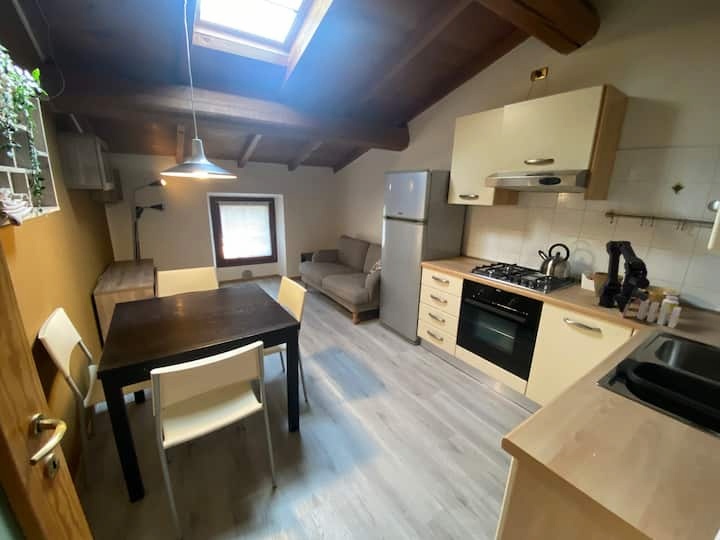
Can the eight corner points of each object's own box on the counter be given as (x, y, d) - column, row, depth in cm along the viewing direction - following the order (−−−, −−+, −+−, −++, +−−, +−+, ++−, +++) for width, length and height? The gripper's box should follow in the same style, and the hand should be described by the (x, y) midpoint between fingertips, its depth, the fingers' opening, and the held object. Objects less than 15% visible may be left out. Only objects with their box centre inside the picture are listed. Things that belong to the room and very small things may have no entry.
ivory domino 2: (646, 320, 154) (651, 303, 152) (649, 319, 157) (654, 301, 154) (651, 322, 152) (656, 304, 150) (654, 320, 155) (659, 302, 153)
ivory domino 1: (636, 318, 157) (641, 300, 155) (639, 316, 160) (644, 299, 158) (641, 319, 156) (646, 301, 153) (644, 317, 158) (649, 300, 156)
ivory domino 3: (656, 323, 151) (662, 305, 148) (659, 321, 153) (664, 303, 151) (662, 325, 149) (667, 306, 147) (665, 323, 152) (670, 305, 149)
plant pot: (586, 297, 193) (591, 273, 189) (592, 293, 202) (597, 270, 199) (615, 303, 182) (621, 278, 178) (620, 299, 191) (626, 275, 188)
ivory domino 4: (667, 326, 147) (673, 307, 145) (670, 324, 150) (675, 306, 148) (673, 327, 146) (679, 309, 143) (676, 326, 148) (681, 307, 146)
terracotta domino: (617, 316, 158) (622, 299, 156) (621, 315, 161) (625, 298, 159) (622, 318, 157) (627, 300, 154) (625, 316, 159) (630, 299, 157)
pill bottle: (678, 317, 160) (683, 298, 158) (664, 316, 162) (670, 297, 159) (668, 313, 166) (674, 295, 164) (656, 312, 167) (661, 294, 165)
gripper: (644, 290, 143) (636, 319, 147) (656, 285, 153) (648, 313, 157) (616, 284, 152) (609, 312, 156) (628, 280, 162) (622, 306, 166)
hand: (623, 311), depth 158 cm, fingers open, 5 cm apart
